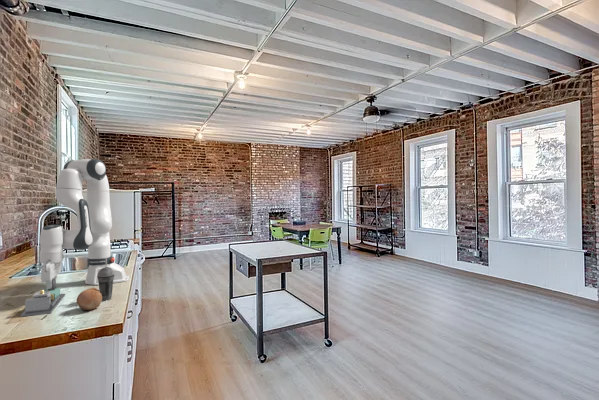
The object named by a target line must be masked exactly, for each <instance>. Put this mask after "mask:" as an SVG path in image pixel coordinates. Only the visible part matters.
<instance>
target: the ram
mask: <svg viewBox="0 0 599 400" xmlns="http://www.w3.org/2000/svg"><path fill="white" fill-rule="evenodd" d="M56 284H57V279H52V288H51V289H47V288H45V289H43V290H44V291H51V300H54V299H55V298H56V297H57V296H59V295H60V294H61V287H57V286H56Z"/></svg>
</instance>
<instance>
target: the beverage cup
mask: <svg viewBox="0 0 599 400" xmlns="http://www.w3.org/2000/svg"><path fill="white" fill-rule="evenodd" d="M114 275H115V274H114V271H113V270H112V269H111V268H109V267H107V258H106V267H104V268H102V269H101V270H100V271H99V272H98V276H97V277H98V282H99V285H98V290H99V292H100V293H101V294H102V301H101V302H106V300H107V301H110V300H112V297H113V296H112V295H113V288H114V283H113V279H114Z"/></svg>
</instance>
